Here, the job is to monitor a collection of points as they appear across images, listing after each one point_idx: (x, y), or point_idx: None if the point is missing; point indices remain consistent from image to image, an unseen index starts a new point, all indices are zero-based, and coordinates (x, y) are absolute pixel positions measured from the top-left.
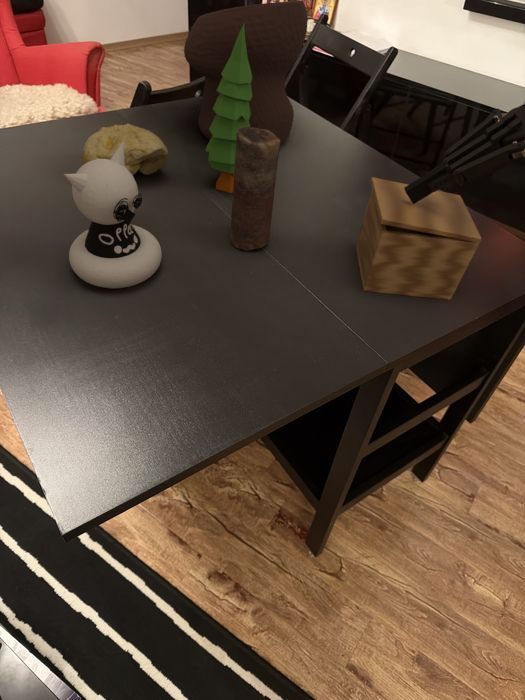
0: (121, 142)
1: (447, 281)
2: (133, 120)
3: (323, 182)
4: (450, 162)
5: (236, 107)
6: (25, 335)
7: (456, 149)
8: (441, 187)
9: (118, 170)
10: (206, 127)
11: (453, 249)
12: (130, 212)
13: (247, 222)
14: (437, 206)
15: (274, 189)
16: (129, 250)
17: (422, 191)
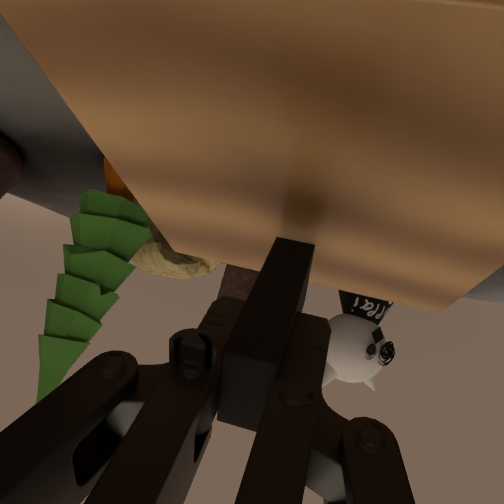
0: (185, 277)
1: None
2: (50, 202)
3: None
4: (205, 437)
5: (102, 308)
6: (481, 296)
7: (101, 470)
8: (326, 353)
9: (350, 377)
10: (14, 185)
11: None
12: (375, 339)
13: None
14: (269, 163)
15: (259, 272)
16: None
17: (300, 303)
